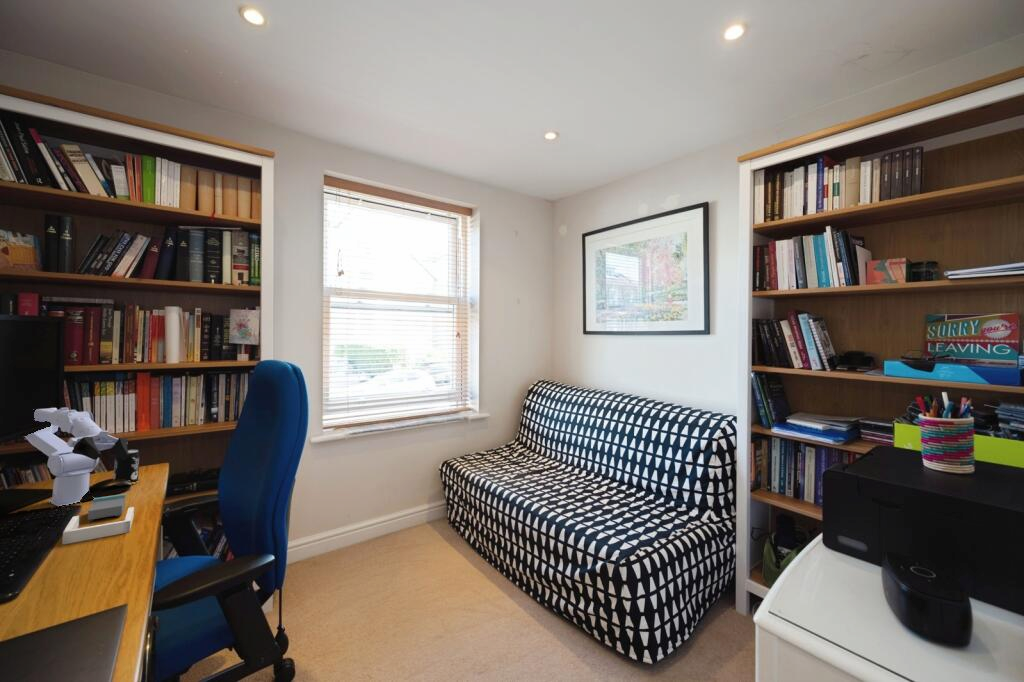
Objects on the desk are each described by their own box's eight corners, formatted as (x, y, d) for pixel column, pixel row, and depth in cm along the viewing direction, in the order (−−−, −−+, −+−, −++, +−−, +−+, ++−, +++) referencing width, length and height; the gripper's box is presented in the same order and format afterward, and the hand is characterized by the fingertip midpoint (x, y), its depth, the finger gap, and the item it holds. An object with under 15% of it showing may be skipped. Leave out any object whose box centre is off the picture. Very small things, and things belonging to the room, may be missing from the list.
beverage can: (125, 487, 145) (127, 453, 146) (107, 487, 146) (109, 453, 146) (142, 482, 152) (144, 449, 152) (125, 481, 152) (127, 449, 153)
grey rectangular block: (93, 511, 123) (93, 498, 123) (124, 507, 128) (125, 493, 128) (87, 522, 116) (88, 508, 116) (121, 517, 120) (122, 503, 120)
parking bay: (72, 527, 112) (72, 516, 112) (133, 517, 120) (134, 506, 120) (62, 544, 103) (63, 532, 103) (129, 532, 110) (130, 520, 110)
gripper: (69, 421, 123) (92, 444, 119) (123, 425, 137) (145, 445, 132) (54, 442, 122) (77, 466, 118) (110, 444, 136) (132, 465, 131)
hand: (112, 456), depth 125 cm, fingers open, 7 cm apart
